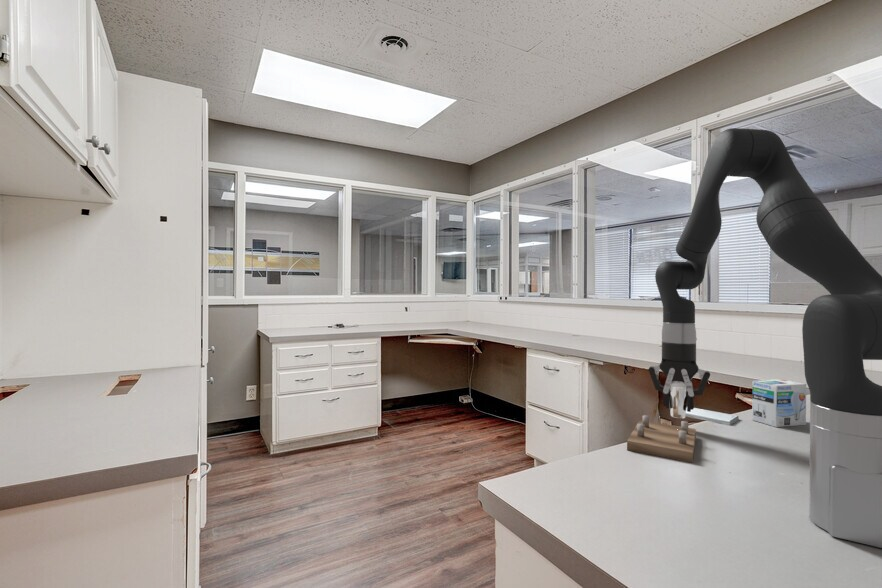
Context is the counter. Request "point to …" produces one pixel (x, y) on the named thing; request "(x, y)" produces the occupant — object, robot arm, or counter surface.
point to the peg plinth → (663, 440)
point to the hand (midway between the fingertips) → (678, 409)
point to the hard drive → (712, 416)
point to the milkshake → (678, 399)
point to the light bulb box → (779, 402)
